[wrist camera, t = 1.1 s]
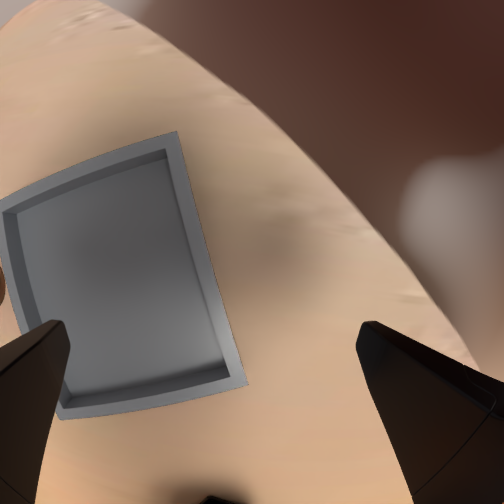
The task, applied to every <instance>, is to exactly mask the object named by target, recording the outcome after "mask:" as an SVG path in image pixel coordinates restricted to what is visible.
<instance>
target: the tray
mask: <svg viewBox="0 0 504 504" xmlns="http://www.w3.org/2000/svg"><path fill="white" fill-rule="evenodd" d="M0 257H1V262H2V267H3V271H4V276H5V280H6V284H7V288H8V292H9V296H10V299H11V303H12V306H13V310H14V313H15V316H16V319H17V322H18V325H19V328H20V331H21V334H22V335H23V334H25V333H27V332H29V331H31V330H32V329H34V328H36V327H38V326H39V325H41V324H43V323H45V322H47V321H49V320H51V319H55V320H62V321H63V322H64V324H65V327H66V330H67V334H68V337H69V340H70V344H71V349H70V354H69V358H68V362H67V366H66V371H65V375H64V380H63V385H62V389H61V393H60V396H59V400H58V403H57V406H56V409H55V412H56V414H57V416H58V418H59V419H60V420H69V419H80V418H89V417H98V416H106V415H113V414H120V413H127V412H133V411H139V410H145V409H150V408H155V407H161V406H166V405H170V404H175V403H180V402H184V401H189V400H193V399H197V398H201V397H205V396H209V395H213V394H217V393H221V392H225V391H228V390H232V389H236V388H239V387H243V386H246V385H248V382H247V378H246V375H245V372H244V369H243V366H242V363H241V360H240V357H239V353H238V350H237V347H236V344H235V341H234V338H233V334H232V331H231V328H230V325H229V321H228V318H227V315H226V312H225V308H224V305H223V302H222V298H221V295H220V292H219V288H218V285H217V281H216V278H215V274H214V271H213V267H212V264H211V260H210V257H209V253H208V250H207V246H206V242H205V239H204V235H203V232H202V228H201V224H200V220H199V217H198V213H197V209H196V205H195V201H194V198H193V194H192V190H191V186H190V182H189V178H188V174H187V170H186V166H185V162H184V158H183V154H182V149H181V145H180V141H179V137H178V133H177V131H175V132H171V133H168V134H164V135H161V136H157V137H154V138H150V139H147V140H144V141H141V142H137V143H134V144H131V145H128V146H125V147H122V148H119V149H116V150H113V151H111V152H108V153H105V154H102V155H100V156H97V157H94V158H92V159H89V160H86V161H84V162H81V163H79V164H76V165H74V166H71V167H69V168H66V169H64V170H62V171H59V172H57V173H55V174H52V175H50V176H48V177H46V178H44V179H41V180H39V181H37V182H35V183H33V184H31V185H29V186H27V187H24V188H22V189H20V190H18V191H16V192H14V193H12V194H11V195H9V196H7V197H5V198H3V199H1V200H0Z"/></svg>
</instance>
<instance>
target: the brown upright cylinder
mask: <svg viewBox="0 0 504 504" xmlns="http://www.w3.org/2000/svg"><path fill="white" fill-rule="evenodd" d="M4 295H5V279H4V275H3V272H2V269H1V267H0V305H1V304H2V302H3V299H4Z"/></svg>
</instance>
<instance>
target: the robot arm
mask: <svg viewBox="0 0 504 504" xmlns="http://www.w3.org/2000/svg"><path fill="white" fill-rule="evenodd" d="M70 349H71V344H70V340H69V337H68V334H67V330H66V327H65V324H64V322H63V321H62V320H55V319H51V320H49V321H47V322H45V323H43V324H41V325H39V326H38V327H36V328H34V329H32V330H31V331H29V332H27V333H25V334H23V335H22V336H20V337H18V338H16V339H15V340H13V341H11V342H9V343H8V344H6V345H4V346H2V347H1V348H0V504H35V498H36V492H37V486H38V480H39V475H40V470H41V465H42V460H43V456H44V451H45V447H46V443H47V439H48V435H49V431H50V427H51V424H52V420H53V416H54V413H55V409H56V406H57V403H58V400H59V396H60V393H61V389H62V385H63V380H64V375H65V371H66V366H67V362H68V358H69V354H70ZM356 351H357V354H358V357H359V360H360V364H361V367H362V370H363V373H364V376H365V380H366V383H367V386H368V389H369V391H370V394H371V396H372V398H373V401H374V403H375V405H376V408H377V410H378V413H379V415H380V417H381V420H382V422H383V424H384V427H385V429H386V432H387V434H388V437H389V439H390V442H391V444H392V447H393V449H394V452H395V454H396V457H397V459H398V462H399V464H400V467H401V470H402V472H403V475H404V477H405V480H406V483H407V485H408V488H409V491H410V494H411V496H412V500H413V502H414V504H504V382H501V381H499V380H496V379H494V378H492V377H489V376H487V375H485V374H482V373H480V372H478V371H476V370H474V369H472V368H470V367H468V366H466V365H463V364H462V363H460V362H458V361H456V360H454V359H452V358H449V357H447V356H445V355H443V354H441V353H439V352H437V351H435V350H433V349H431V348H429V347H427V346H425V345H423V344H421V343H419V342H417V341H415V340H413V339H411V338H409V337H407V336H405V335H403V334H401V333H399V332H397V331H395V330H393V329H391V328H389V327H387V326H385V325H383V324H381V323H379V322H377V321H365V322H363V323H362V325H361V328H360V331H359V335H358V338H357V341H356ZM200 504H234V503H231V502H228V501H225V500H222V499H219V498H216V497H213V496H209V497H207V498H205V499H204V500H203V501H202V502H201V503H200Z"/></svg>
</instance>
